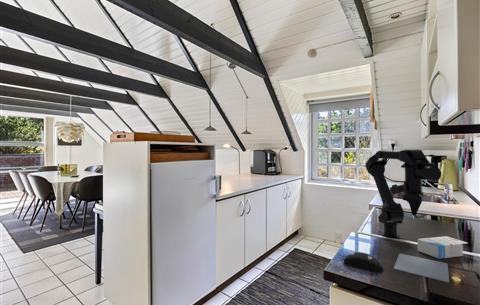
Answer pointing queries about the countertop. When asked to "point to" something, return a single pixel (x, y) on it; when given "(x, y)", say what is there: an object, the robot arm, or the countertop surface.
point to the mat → (422, 267)
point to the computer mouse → (363, 262)
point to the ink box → (441, 247)
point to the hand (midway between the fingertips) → (414, 215)
